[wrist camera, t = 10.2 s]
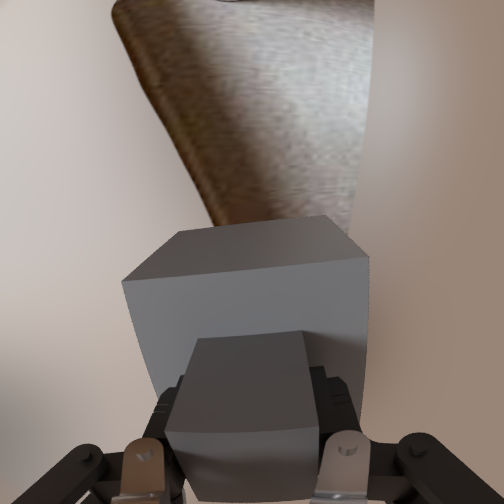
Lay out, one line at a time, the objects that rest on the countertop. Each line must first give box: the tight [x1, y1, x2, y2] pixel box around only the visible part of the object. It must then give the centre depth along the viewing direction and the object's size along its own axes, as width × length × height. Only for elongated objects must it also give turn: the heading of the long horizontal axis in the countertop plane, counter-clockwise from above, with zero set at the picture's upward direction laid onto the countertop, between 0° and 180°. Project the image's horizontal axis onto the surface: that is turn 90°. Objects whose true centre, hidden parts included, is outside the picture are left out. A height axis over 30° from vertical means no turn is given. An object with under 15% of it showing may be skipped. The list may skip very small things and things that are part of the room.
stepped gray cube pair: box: [121, 215, 369, 503], centre depth 14 cm, size 9×9×14 cm
